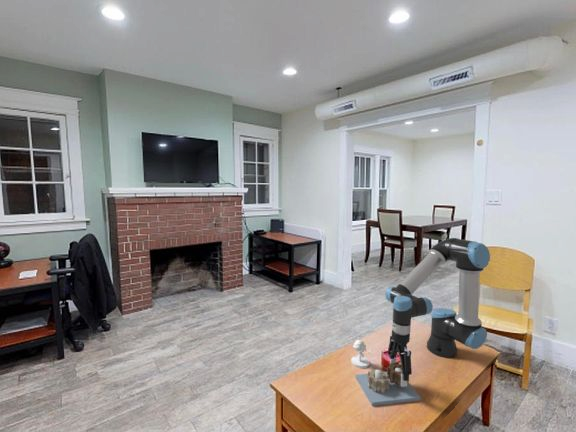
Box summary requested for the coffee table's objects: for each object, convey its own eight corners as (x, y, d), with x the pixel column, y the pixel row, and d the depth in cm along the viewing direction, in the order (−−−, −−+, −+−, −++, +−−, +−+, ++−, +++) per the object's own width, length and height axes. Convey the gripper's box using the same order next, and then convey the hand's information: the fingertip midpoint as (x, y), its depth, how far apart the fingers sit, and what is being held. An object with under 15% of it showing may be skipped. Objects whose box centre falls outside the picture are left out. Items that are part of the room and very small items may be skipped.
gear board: (398, 373, 143) (399, 357, 142) (420, 400, 126) (421, 381, 125) (355, 377, 140) (356, 360, 139) (372, 405, 122) (373, 386, 121)
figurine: (370, 369, 146) (371, 346, 145) (351, 366, 148) (352, 344, 147) (368, 358, 155) (369, 337, 154) (351, 356, 157) (352, 335, 156)
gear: (377, 377, 138) (377, 367, 137) (392, 388, 130) (393, 378, 130) (363, 383, 133) (363, 373, 133) (378, 396, 126) (379, 385, 125)
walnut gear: (401, 372, 138) (402, 362, 138) (412, 385, 129) (413, 374, 129) (383, 373, 137) (384, 363, 136) (393, 386, 128) (394, 376, 127)
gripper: (381, 320, 141) (379, 364, 143) (406, 345, 119) (403, 396, 122) (396, 319, 142) (393, 363, 144) (423, 343, 121) (419, 394, 123)
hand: (397, 378), depth 133 cm, fingers closed on walnut gear, 9 cm apart
